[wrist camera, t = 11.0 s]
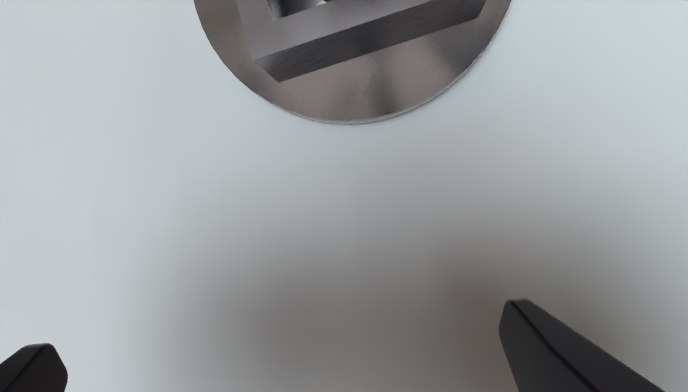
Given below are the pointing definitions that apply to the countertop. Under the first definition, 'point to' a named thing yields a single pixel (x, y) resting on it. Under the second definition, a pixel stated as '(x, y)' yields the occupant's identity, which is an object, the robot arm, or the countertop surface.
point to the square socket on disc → (349, 51)
